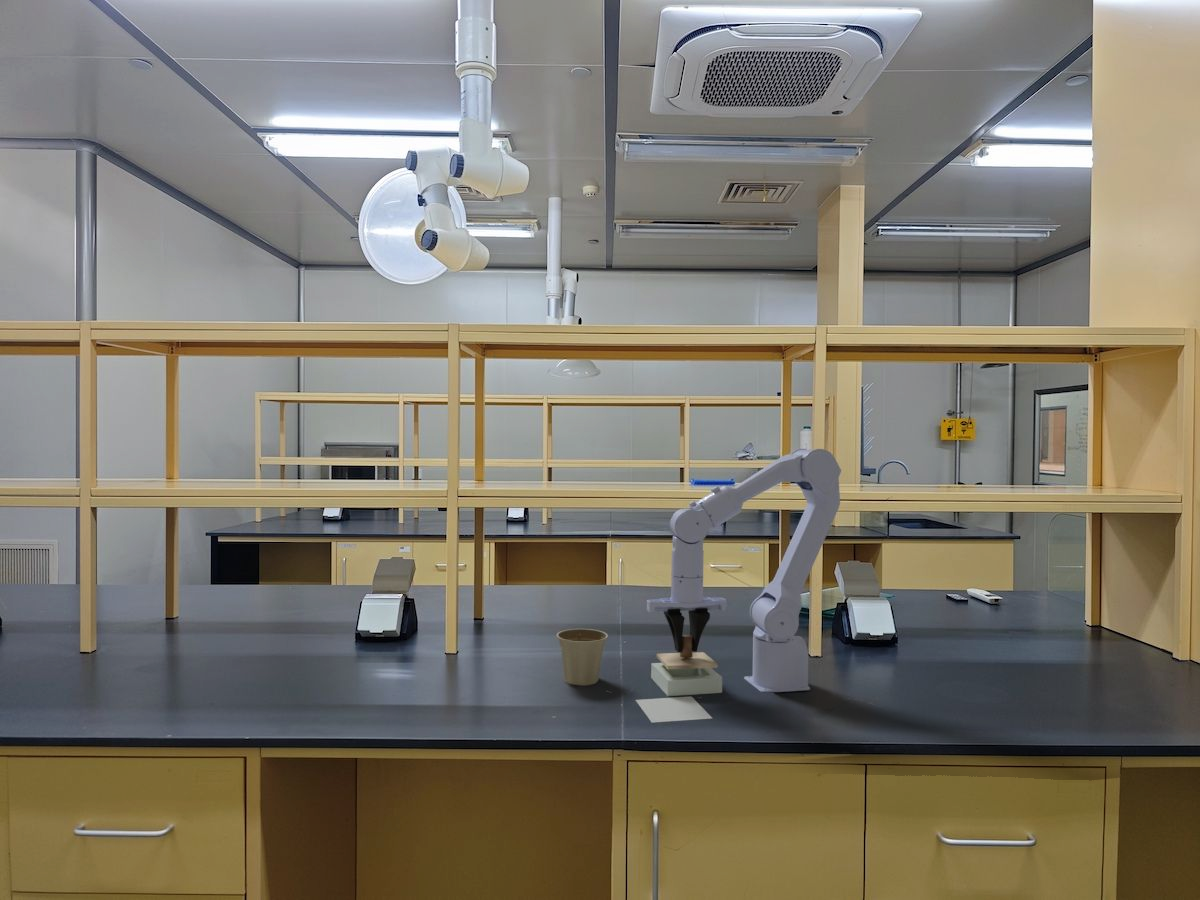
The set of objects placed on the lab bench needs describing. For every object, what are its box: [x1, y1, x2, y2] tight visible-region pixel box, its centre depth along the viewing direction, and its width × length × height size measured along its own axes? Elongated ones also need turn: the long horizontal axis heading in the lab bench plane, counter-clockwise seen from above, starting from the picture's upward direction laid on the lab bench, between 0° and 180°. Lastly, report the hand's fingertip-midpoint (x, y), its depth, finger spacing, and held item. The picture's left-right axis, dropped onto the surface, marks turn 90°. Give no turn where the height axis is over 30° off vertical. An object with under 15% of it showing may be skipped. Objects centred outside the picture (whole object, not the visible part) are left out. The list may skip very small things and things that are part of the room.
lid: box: [656, 634, 719, 669], centre depth 128 cm, size 9×9×5 cm
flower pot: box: [556, 628, 609, 686], centre depth 130 cm, size 9×9×9 cm
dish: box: [650, 662, 723, 697], centre depth 128 cm, size 10×10×3 cm
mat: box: [635, 695, 713, 724], centre depth 116 cm, size 10×10×1 cm
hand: (685, 650), depth 128 cm, fingers closed on lid, 2 cm apart
